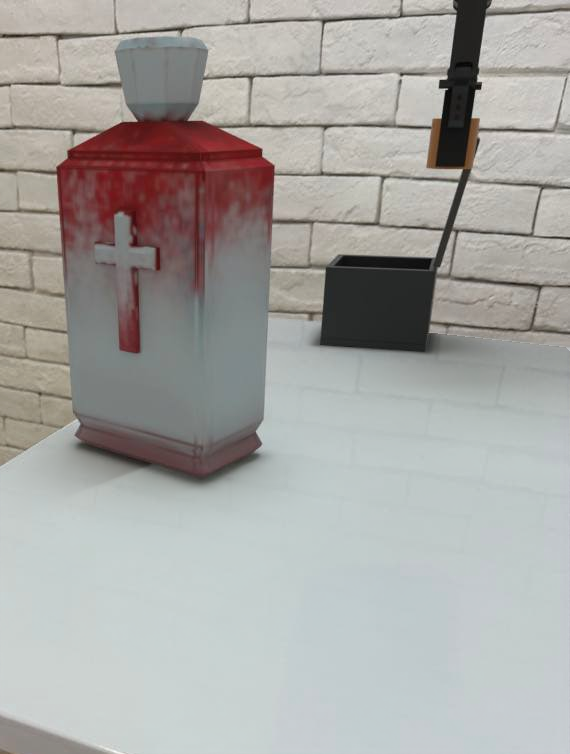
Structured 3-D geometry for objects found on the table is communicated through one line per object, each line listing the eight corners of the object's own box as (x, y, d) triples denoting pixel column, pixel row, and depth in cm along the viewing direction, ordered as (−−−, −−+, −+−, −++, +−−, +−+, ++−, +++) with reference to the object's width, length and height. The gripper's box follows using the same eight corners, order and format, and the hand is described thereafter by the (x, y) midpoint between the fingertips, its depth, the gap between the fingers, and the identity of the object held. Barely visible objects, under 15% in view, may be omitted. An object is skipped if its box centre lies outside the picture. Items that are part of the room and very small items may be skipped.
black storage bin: (319, 344, 102) (325, 266, 98) (332, 326, 111) (338, 254, 106) (425, 351, 98) (435, 271, 94) (429, 332, 107) (439, 257, 103)
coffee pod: (472, 167, 83) (479, 118, 81) (472, 169, 79) (480, 118, 77) (426, 166, 84) (433, 118, 82) (425, 169, 80) (431, 118, 78)
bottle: (64, 448, 71) (34, 42, 57) (142, 417, 78) (132, 49, 64) (197, 489, 62) (199, 25, 49) (271, 451, 69) (291, 36, 56)
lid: (472, 137, 87) (480, 139, 87) (472, 136, 96) (479, 137, 96) (433, 266, 94) (440, 267, 94) (436, 253, 103) (442, 254, 103)
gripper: (446, -106, 79) (414, 160, 90) (443, -157, 64) (406, 169, 75) (529, -113, 77) (487, 161, 88) (547, -167, 62) (493, 170, 73)
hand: (450, 164), depth 81 cm, fingers closed on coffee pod, 4 cm apart
